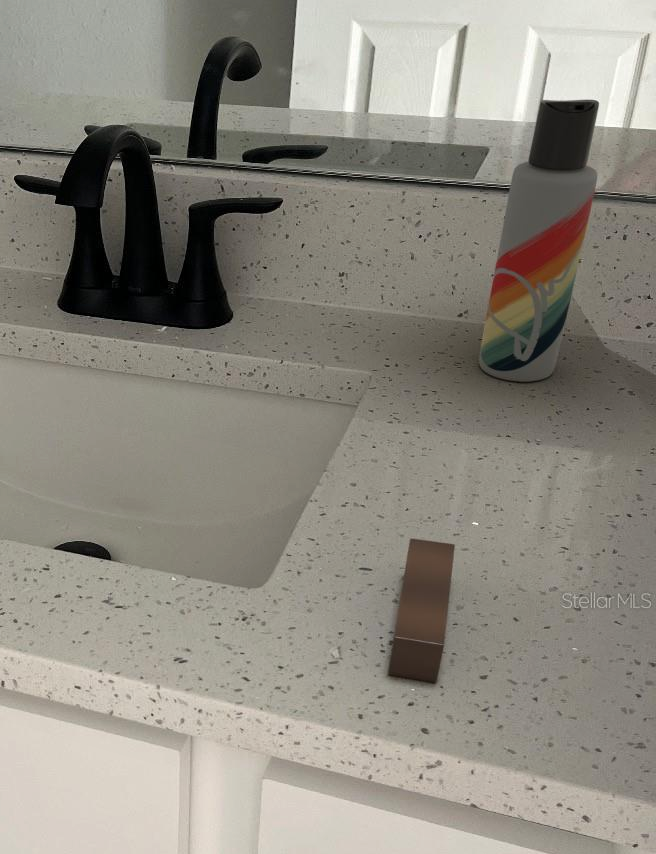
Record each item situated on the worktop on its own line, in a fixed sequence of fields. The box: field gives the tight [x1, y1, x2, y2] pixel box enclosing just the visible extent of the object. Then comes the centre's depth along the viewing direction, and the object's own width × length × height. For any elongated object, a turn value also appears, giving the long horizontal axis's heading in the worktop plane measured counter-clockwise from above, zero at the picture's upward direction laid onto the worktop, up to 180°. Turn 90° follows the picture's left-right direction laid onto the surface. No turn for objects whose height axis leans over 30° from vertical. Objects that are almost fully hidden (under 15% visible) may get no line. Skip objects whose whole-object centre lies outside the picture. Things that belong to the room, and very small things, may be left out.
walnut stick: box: [387, 537, 456, 683], centre depth 66 cm, size 10×2×2 cm, turn 162°
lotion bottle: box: [478, 99, 600, 383], centre depth 88 cm, size 6×6×20 cm
